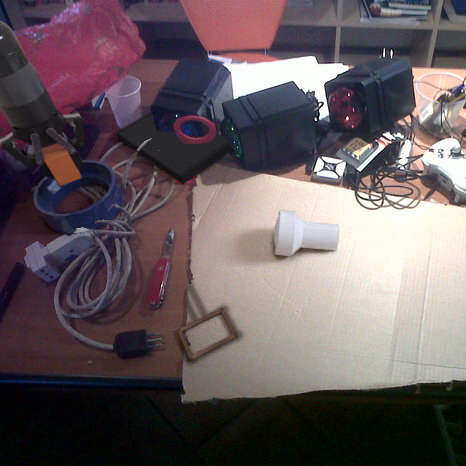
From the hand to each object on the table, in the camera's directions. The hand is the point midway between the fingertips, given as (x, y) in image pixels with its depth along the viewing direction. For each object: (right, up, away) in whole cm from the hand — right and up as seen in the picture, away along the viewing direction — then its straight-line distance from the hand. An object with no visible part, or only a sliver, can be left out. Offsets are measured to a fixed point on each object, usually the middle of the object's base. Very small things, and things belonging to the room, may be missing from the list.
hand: (65, 170), depth 90 cm
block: (0, -1, +1) cm, 1 cm away
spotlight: (+44, -14, -1) cm, 46 cm away
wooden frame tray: (+27, -25, -9) cm, 37 cm away
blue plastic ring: (0, -7, +8) cm, 10 cm away
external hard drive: (+15, +8, +19) cm, 26 cm away
